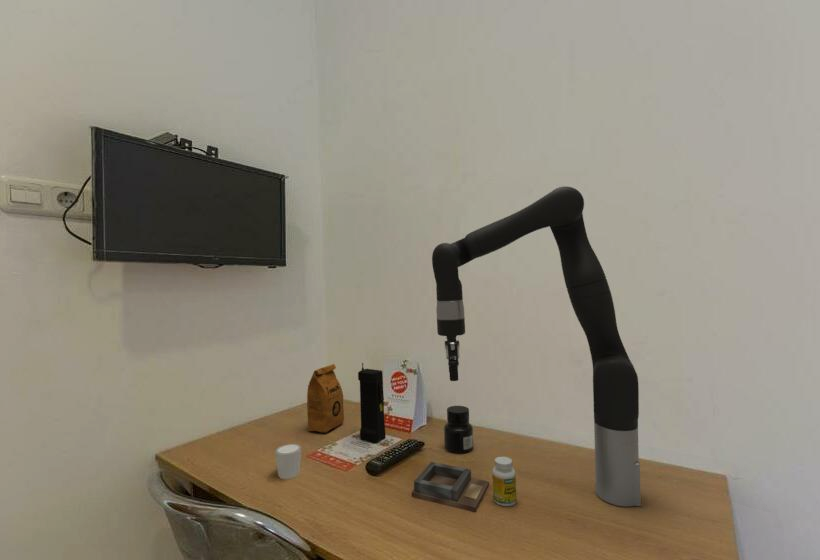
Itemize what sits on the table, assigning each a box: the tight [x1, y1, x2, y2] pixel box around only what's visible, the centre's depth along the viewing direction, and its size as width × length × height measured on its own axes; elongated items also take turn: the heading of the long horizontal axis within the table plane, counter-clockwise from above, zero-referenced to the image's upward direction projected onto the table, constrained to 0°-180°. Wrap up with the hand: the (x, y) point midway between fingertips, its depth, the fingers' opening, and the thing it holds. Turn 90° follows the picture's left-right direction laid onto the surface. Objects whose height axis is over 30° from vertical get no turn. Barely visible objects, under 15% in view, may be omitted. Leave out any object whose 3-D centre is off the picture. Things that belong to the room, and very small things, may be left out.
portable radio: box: [357, 362, 387, 444], centre depth 130 cm, size 8×6×25 cm
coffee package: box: [306, 363, 345, 433], centre depth 141 cm, size 10×12×22 cm
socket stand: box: [411, 461, 490, 512], centre depth 97 cm, size 16×12×4 cm
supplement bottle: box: [492, 456, 517, 507], centre depth 93 cm, size 5×5×10 cm
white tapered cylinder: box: [274, 443, 302, 480], centre depth 108 cm, size 7×7×7 cm
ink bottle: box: [443, 405, 474, 454], centre depth 122 cm, size 10×9×12 cm
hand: (453, 376), depth 107 cm, fingers open, 8 cm apart
